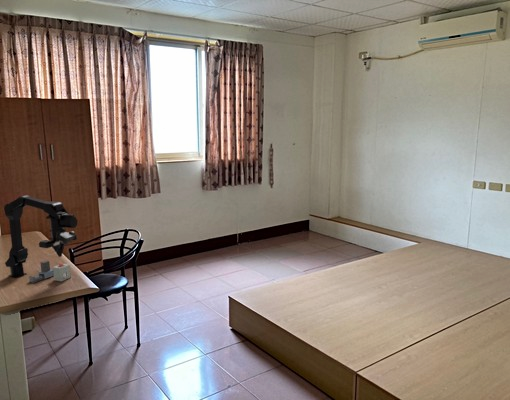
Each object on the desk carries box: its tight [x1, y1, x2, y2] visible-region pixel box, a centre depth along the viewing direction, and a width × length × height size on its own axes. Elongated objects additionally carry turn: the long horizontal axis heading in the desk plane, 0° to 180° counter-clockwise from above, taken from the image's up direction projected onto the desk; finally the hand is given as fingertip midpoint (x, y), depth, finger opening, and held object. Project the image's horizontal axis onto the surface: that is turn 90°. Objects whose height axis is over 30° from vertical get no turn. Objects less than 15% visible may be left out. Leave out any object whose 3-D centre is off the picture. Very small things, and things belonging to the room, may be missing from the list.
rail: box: [28, 268, 53, 284], centre depth 226 cm, size 3×13×3 cm, turn 153°
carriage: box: [37, 260, 54, 280], centre depth 227 cm, size 5×5×8 cm
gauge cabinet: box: [52, 263, 72, 282], centre depth 224 cm, size 6×6×7 cm
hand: (60, 256), depth 222 cm, fingers closed
